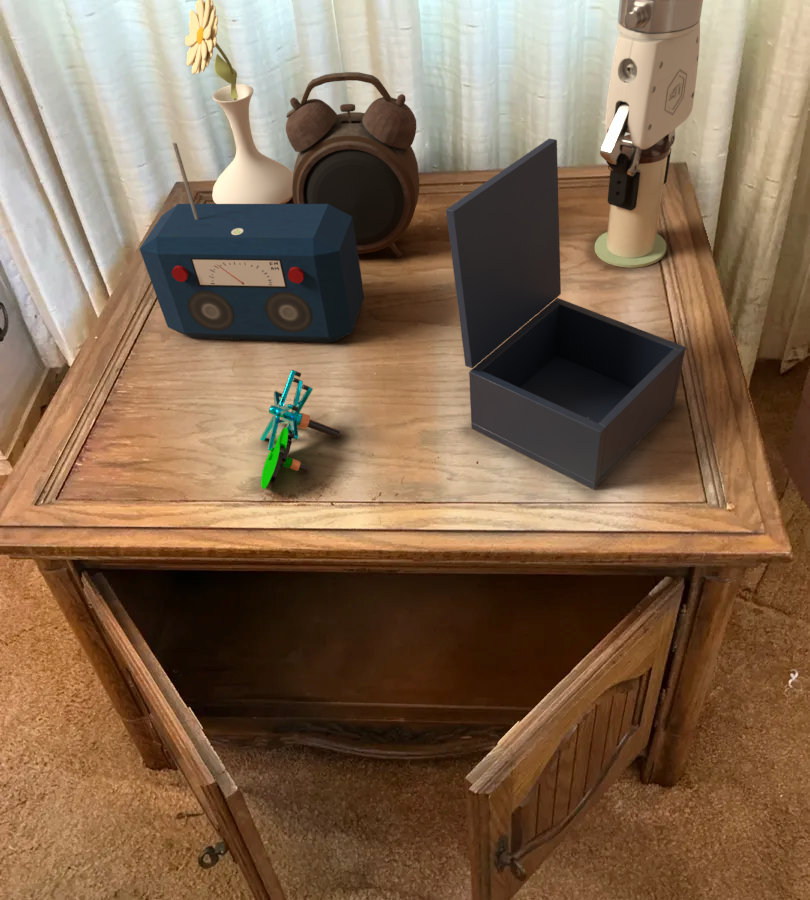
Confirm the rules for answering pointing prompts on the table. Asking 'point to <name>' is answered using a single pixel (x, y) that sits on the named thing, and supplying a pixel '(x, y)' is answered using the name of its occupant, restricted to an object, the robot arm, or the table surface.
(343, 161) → the alarm clock
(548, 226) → the lid
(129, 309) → the table surface
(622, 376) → the chest
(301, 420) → the stick construction toy
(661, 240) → the mat
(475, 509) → the table surface
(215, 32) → the flower in vase
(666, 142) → the jar
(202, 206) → the radio
